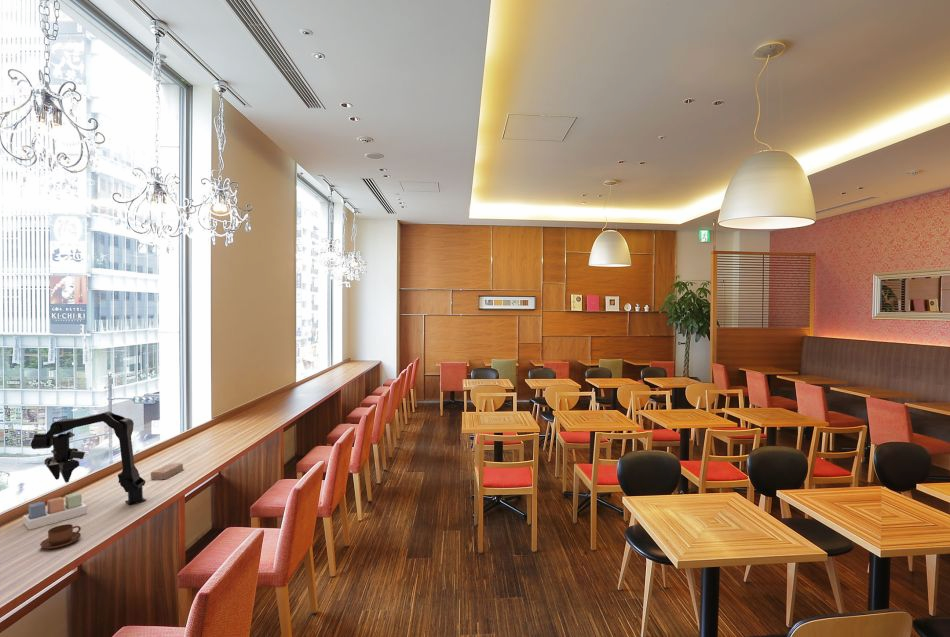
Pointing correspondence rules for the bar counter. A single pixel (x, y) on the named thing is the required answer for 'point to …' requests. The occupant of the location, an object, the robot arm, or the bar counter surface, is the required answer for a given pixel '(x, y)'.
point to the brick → (167, 471)
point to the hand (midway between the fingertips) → (62, 480)
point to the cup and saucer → (61, 536)
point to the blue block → (36, 510)
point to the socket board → (54, 517)
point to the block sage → (73, 500)
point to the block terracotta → (55, 505)
